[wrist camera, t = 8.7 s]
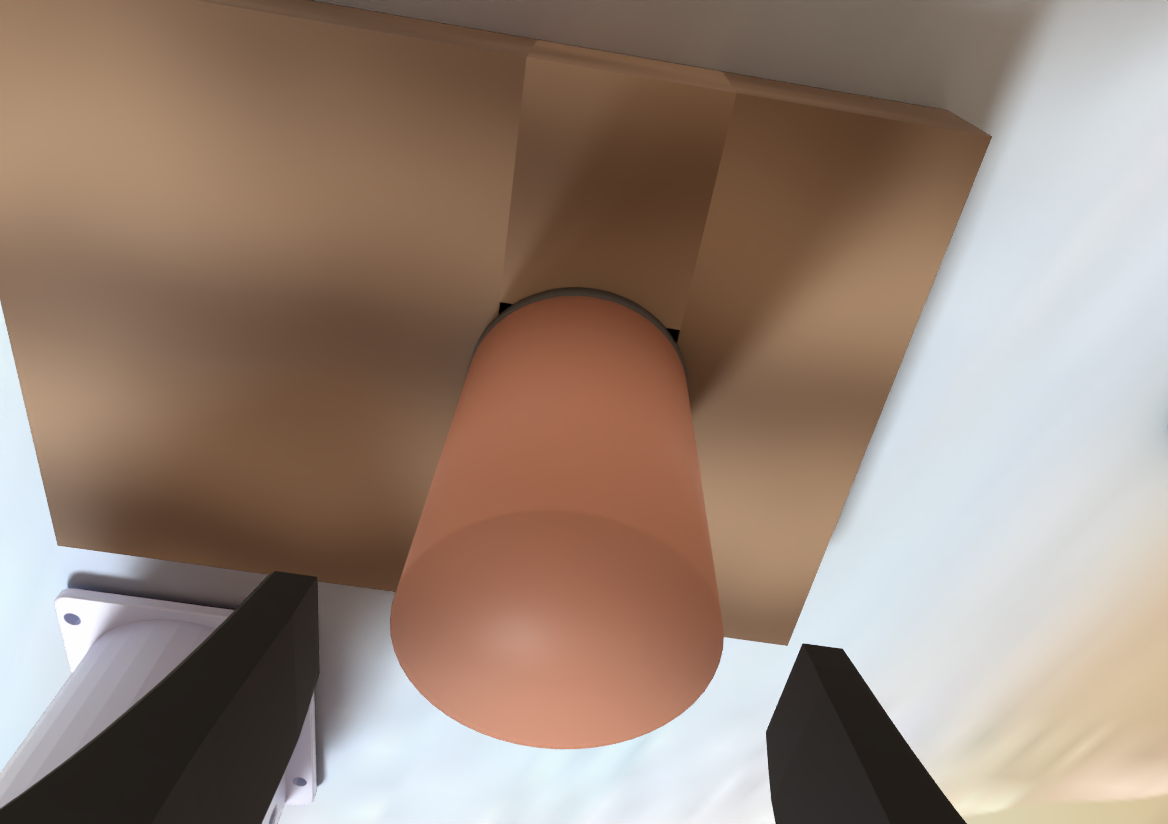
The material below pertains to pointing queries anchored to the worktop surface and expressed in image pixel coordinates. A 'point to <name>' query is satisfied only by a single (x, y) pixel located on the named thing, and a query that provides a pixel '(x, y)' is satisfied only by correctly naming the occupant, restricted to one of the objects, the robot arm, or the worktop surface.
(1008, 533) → the worktop surface
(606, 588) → the peg
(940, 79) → the worktop surface
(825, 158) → the board
